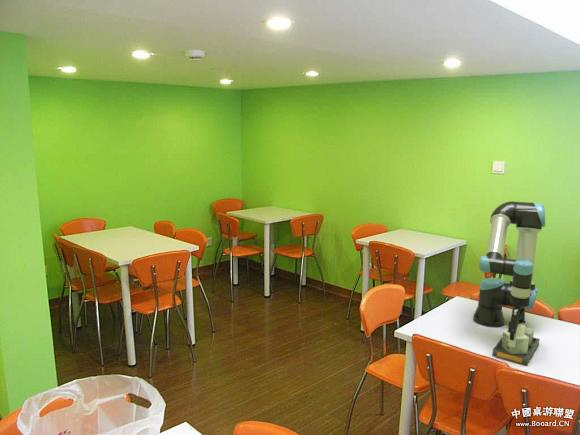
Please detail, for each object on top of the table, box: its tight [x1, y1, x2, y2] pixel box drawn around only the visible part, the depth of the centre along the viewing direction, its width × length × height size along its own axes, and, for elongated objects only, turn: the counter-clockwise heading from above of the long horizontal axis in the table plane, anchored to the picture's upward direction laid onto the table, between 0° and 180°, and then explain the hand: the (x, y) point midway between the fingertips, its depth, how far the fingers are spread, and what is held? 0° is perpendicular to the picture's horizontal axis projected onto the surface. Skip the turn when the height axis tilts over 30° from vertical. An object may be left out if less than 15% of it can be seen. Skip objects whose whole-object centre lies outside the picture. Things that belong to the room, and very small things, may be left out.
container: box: [501, 321, 529, 354], centre depth 200 cm, size 8×8×13 cm
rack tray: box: [492, 336, 540, 367], centre depth 205 cm, size 14×27×3 cm, turn 142°
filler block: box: [524, 326, 535, 345], centre depth 210 cm, size 9×8×6 cm
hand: (515, 341), depth 200 cm, fingers open, 13 cm apart
